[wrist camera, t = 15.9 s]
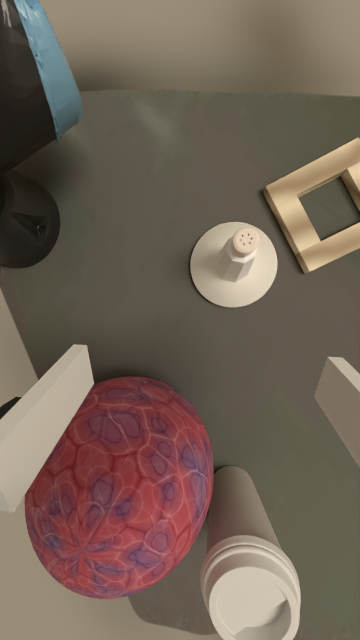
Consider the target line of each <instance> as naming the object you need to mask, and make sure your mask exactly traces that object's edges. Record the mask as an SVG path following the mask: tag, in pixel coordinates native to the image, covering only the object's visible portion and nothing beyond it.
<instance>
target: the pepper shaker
mask: <svg viewBox="0 0 360 640" xmlns="http://www.w3.org/2000/svg"><path fill="white" fill-rule="evenodd" d="M259 242H260V237H259V234H258V233H257V231H256V230H255V229H253V228H251V227H242V228H240V229H238V230H237V231H236V232H235V233H234V235H233V236H232V237H230V238H229V239H228V240H227V242H226V243H225V245H224V247H223V248H222V250H221V251H220V253H219V254H218V258H217V262H216V266H215V269H216V271H217V272H218V274H219V276H220V277H221V279H222V280H226V281H231V282H235V283H236V282H237V281H239V280H241V279H242V278H244V277H246V276H247V275H248V273H249V271H250V268H251V266H252V264H253V261H254V259H255V256H256V252H257V248H258V245H259Z"/></svg>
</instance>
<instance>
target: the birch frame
mask: <svg viewBox="0 0 360 640" xmlns="http://www.w3.org/2000/svg"><path fill="white" fill-rule="evenodd" d="M339 176H341V178H342V180H343V182H344V184H345V185H346V187H347V189H348V191H349V193H350V195H351V197H352V199H353V200H354V202H355V204H356V206H357V208H358V210H359V212H360V139H359V137H358V138H357V139H355V140H353V141H351V142H349V143H347V144H345V145H343V146H341V147H340V148H338V149H336V150H334V151H332V152H330V153H328V154H326V155H324V156H323V157H321V158H319V159H317V160H315V161H313V162H311V163H309V164H307V165H306V166H304V167H302V168H300V169H298V170H296V171H294V172H292V173H290V174H289V175H287V176H285V177H283V178H281V179H279V180H277V181H275V182H273V183H272V184H270V185H268V186H266V187H265V189H264V191H263V194H264V196H265V198H266V200H267V202H268V204H269V206H270V208H271V209H272V211H273V213H274V215H275V217H276V219H277V221H278V223H279V225H280V227H281V229H282V231H283V233H284V235H285V237H286V239H287V241H288V242H289V244H290V246H291V248H292V250H293V252H294V254H295V256H296V258H297V260H298V262H299V264H300V266H301V268H302V270H303V272H304V274H306V273H308V272H310V271H312V270H314V269H316V268H318V267H320V266H322V265H325V264H327V263H329V262H331V261H333V260H335V259H337V258H339V257H341V256H343V255H345V254H347V253H350V252H352V251H354V250H356V249H358V248H360V222H359V223H357V224H355V225H353V226H351V227H349V228H347V229H345V230H343V231H341V232H339V233H337V234H335V235H333V236H331V237H329V238H327V239H325V240H323V241H320V239H319V237H318V235H317V233H316V232H315V230H314V228H313V226H312V224H311V222H310V220H309V218H308V216H307V214H306V212H305V210H304V209H303V207H302V205H301V203H300V201H299V199H298V198H299V197H300V196H302V195H304V194H306V193H308V192H310V191H312V190H314V189H316V188H318V187H320V186H322V185H324V184H326V183H328V182H330V181H331V180H333V179H335V178H337V177H339Z"/></svg>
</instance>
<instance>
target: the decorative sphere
mask: <svg viewBox="0 0 360 640" xmlns="http://www.w3.org/2000/svg"><path fill="white" fill-rule="evenodd" d="M213 476H214V467H213V456H212V449H211V445H210V441H209V437H208V434H207V431H206V428H205V426H204V424H203V422H202V420H201V418H200V416H199V414H198V413H197V411H196V410H195V408H194V407H193V406H192V405H191V403H190V402H189V401H188V400H187V399H186V398H185V397H184V396H183V395H182V394H181V393H180V392H178V391H177V390H175V389H174V388H173V387H171V386H169V385H167V384H165V383H163V382H161V381H158V380H155V379H152V378H148V377H141V376H123V377H116V378H112V379H109V380H105V381H103V382H100V383H97V384H95V385H94V386H92V388H91V389H90V391H89V392H88V394H87V396H86V397H85V399H84V400H83V402H82V404H81V405H80V407H79V409H78V410H77V412H76V413H75V415H74V417H73V418H72V420H71V421H70V423H69V425H68V426H67V428H66V429H65V431H64V433H63V434H62V436H61V437H60V439H59V441H58V442H57V444H56V445H55V447H54V449H53V450H52V452H51V453H50V455H49V457H48V458H47V460H46V461H45V463H44V465H43V466H42V468H41V470H40V471H39V473H38V474H37V476H36V478H35V479H34V481H33V482H32V484H31V486H30V487H29V489H28V490H27V492H26V494H25V517H26V524H27V529H28V533H29V536H30V539H31V543H32V545H33V548H34V550H35V552H36V554H37V556H38V558H39V560H40V562H41V563H42V564H43V566H44V567H45V569H46V570H47V571H48V572H49V573H50V575H52V577H53V578H55V579H56V580H57V581H58V582H59V583H60V584H62V585H63V586H65V587H66V588H68V589H70V590H71V591H73V592H75V593H78V594H80V595H83V596H87V597H91V598H98V599H113V598H121V597H126V596H129V595H133V594H135V593H138V592H140V591H143V590H145V589H147V588H149V587H150V586H152V585H154V584H155V583H157V582H158V581H160V580H161V579H162V578H163V577H165V576H166V575H167V574H169V573H170V572H171V571H172V570H173V569H174V568H175V567H176V566H177V565H178V563H179V562H180V561H181V560H182V559H183V558H184V556H185V555H186V554H187V552H188V551H189V550H190V548H191V547H192V545H193V543H194V542H195V540H196V538H197V536H198V534H199V532H200V530H201V528H202V525H203V523H204V521H205V518H206V515H207V512H208V509H209V504H210V500H211V495H212V488H213Z"/></svg>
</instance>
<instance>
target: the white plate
mask: <svg viewBox="0 0 360 640" xmlns="http://www.w3.org/2000/svg"><path fill="white" fill-rule="evenodd" d="M242 227H251V228H253V229H255V230H256V231H257V233H258V234H259V237H260V242H259V245H258V248H257V252H256V256H255V259H254V261H253V264H252V266H251V268H250V271H249V273H248V275H247V276H246V277H244V278H242V279H241V280H239V281H237V282H236V283H235V282H231V281H226V280H222V279H221V277H220V276H219V274H218V272H217V271H216V269H215V266H216V262H217V258H218V254H219V253H220V251H221V250H222V248H223V247H224V245H225V243H226V242H227V240H228V239H229V238H230V237H232V236H233V235H234V233H235V232H236V231H237V230H238V229H240V228H242ZM190 269H191V275H192V279H193V282H194V284H195V286H196V288H197V290H198V291H199V292H200V293H201V294H202V295H203V296H204V297H205V298H206V299H207V300H209V301H210V302H212V303H214V304H216V305H219V306H223V307H229V308H235V307H241V306H245V305H248V304H251V303H253V302H255V301H256V300H258V299H259V298H261V297H262V296H263V295H264V294H265V293H266V292H267V291H268V289H269V288H270V286H271V285H272V283H273V281H274V279H275V275H276V272H277V255H276V252H275V249H274V246H273V244H272V243H271V241H270V239H269V238H268V237H267V236H266V235H265V234H264V233H263V232H262V231H261V230H259V229H258V228H256V227H254V226H252V225H249V224H246V223H242V222H229V223H224V224H220V225H218V226H215V227H213V228H212V229H210V230H209V231H207V232H206V233H205V234H204V235H203V236H202V237H201V238H200V239H199V241H198V242H197V244H196V246H195V248H194V250H193V253H192V256H191V262H190Z"/></svg>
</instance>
